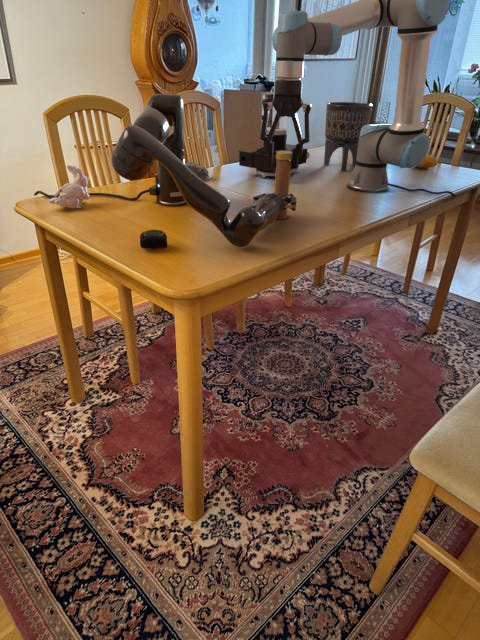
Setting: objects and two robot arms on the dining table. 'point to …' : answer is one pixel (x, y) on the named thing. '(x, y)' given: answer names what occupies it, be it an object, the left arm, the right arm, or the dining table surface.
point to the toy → (428, 162)
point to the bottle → (282, 181)
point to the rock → (197, 170)
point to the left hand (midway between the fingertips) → (283, 195)
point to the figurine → (72, 190)
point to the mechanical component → (262, 159)
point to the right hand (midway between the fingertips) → (283, 166)
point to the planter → (345, 128)
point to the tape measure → (153, 239)
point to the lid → (284, 155)
